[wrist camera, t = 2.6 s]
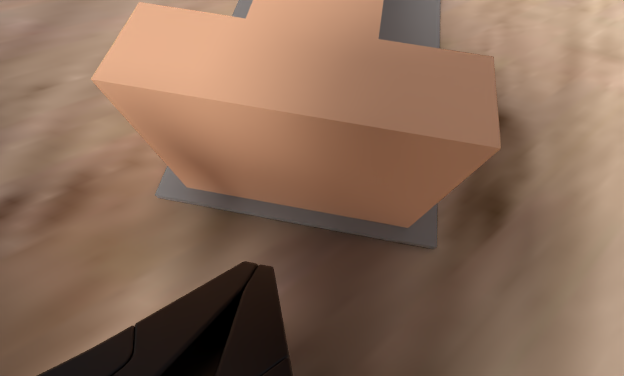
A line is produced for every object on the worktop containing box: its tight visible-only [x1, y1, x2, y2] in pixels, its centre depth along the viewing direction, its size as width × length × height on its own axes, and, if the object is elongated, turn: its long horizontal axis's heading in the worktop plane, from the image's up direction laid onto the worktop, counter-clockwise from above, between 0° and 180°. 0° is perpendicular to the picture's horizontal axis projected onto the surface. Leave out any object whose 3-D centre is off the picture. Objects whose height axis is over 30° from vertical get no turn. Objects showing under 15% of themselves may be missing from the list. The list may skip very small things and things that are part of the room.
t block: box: [91, 0, 501, 228], centre depth 15 cm, size 12×12×8 cm
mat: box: [155, 0, 440, 249], centre depth 20 cm, size 22×15×1 cm
